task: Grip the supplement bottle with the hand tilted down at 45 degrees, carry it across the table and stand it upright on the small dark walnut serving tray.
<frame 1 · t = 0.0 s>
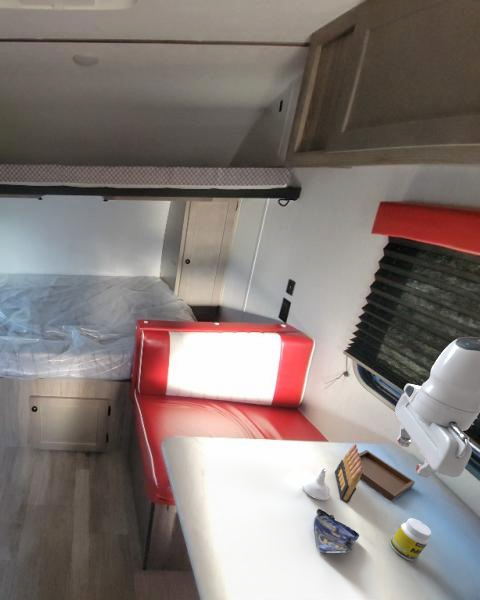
hand: (410, 458, 75), 23 cm above the table, tool pointing down, fingers open, 8 cm apart
white funnel: (313, 492, 91), on the table
supplement bottle: (401, 550, 79), on the table
snack package: (328, 536, 80), on the table
tray: (376, 476, 99), on the table
ammunition clip: (341, 487, 94), on the table
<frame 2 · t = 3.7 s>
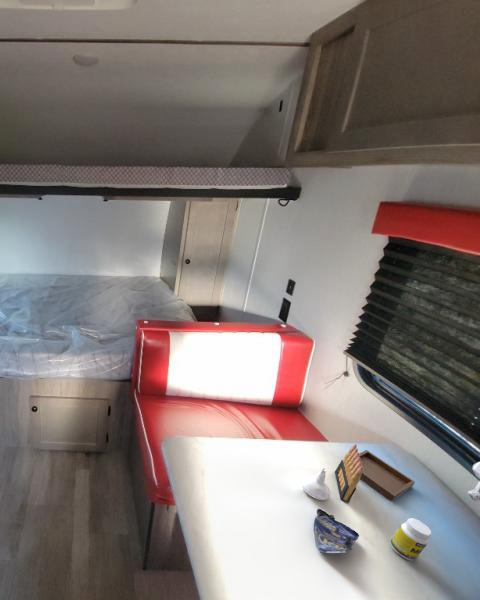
nothing on the table moved.
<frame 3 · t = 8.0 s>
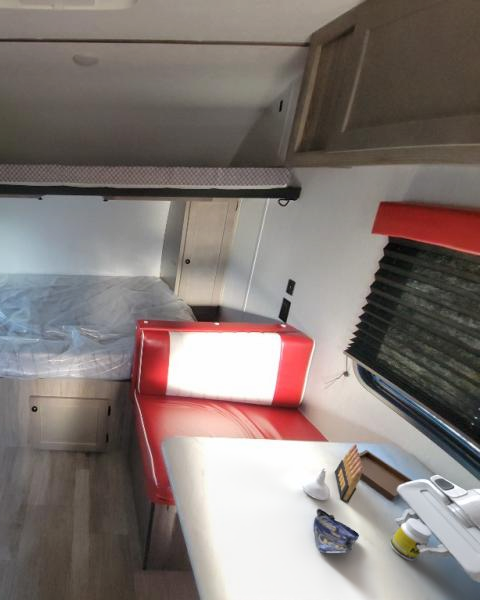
hand: (408, 537, 77), 4 cm above the table, tool tilted 45°, fingers closed on supplement bottle, 5 cm apart
supplement bottle: (401, 550, 79), on the table, touching gripper
everything else where it was.
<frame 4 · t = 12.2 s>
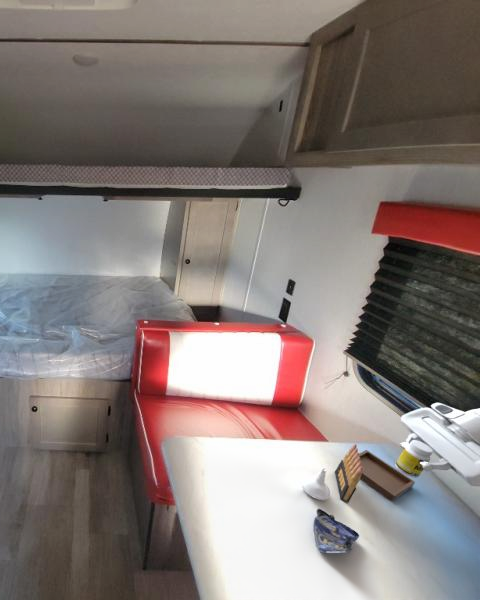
hand: (411, 457, 85), 16 cm above the table, tool tilted 45°, fingers closed on supplement bottle, 5 cm apart
supplement bottle: (406, 471, 86), point 12 cm above the table, touching gripper
everything else where it was.
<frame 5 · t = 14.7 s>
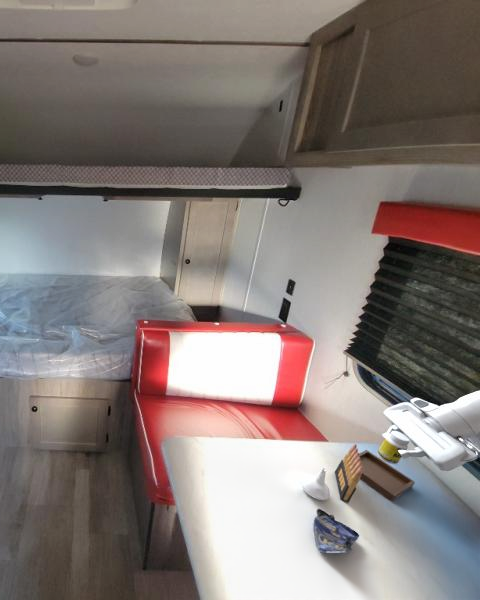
hand: (391, 446, 95), 12 cm above the table, tool tilted 45°, fingers closed on supplement bottle, 5 cm apart
supplement bottle: (386, 458, 96), point 7 cm above the table, touching gripper
everything else where it was.
when the fingers open (5 cm above the table, at t = 16.9 s): supplement bottle stays where it is, resting on tray.
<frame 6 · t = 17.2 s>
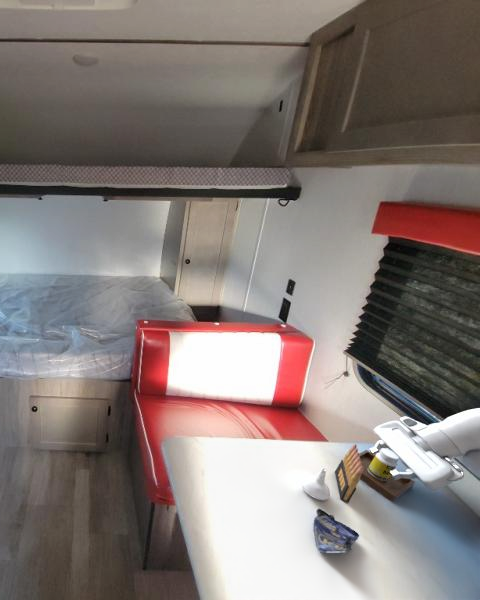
hand: (381, 464, 97), 5 cm above the table, tool tilted 45°, fingers open, 7 cm apart
supplement bottle: (376, 475, 99), resting on tray
everything else where it was.
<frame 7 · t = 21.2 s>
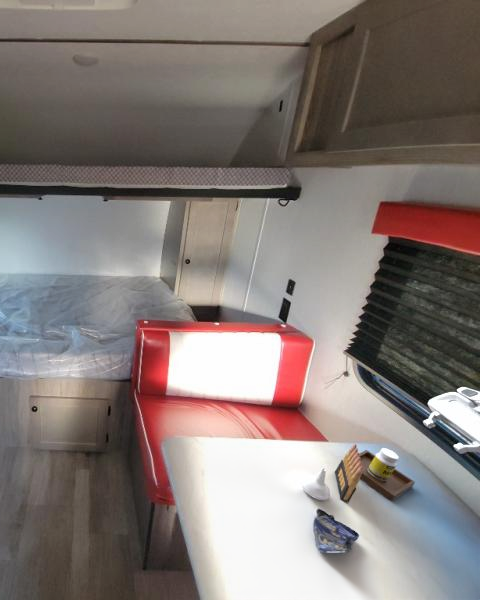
hand: (440, 436, 91), 17 cm above the table, tool tilted 45°, fingers open, 8 cm apart
nothing on the table moved.
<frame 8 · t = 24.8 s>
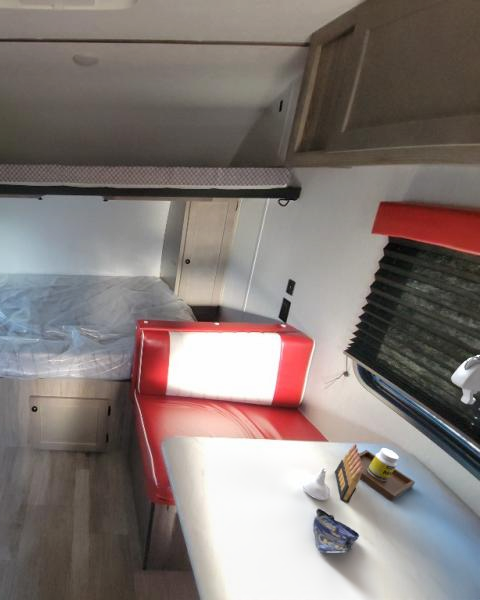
nothing on the table moved.
at the end: supplement bottle inside the target area in the tray (0.0 cm from its centre), point 0.4 cm above the tray's base; supplement bottle tilted 0°; the gripper is holding nothing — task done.
